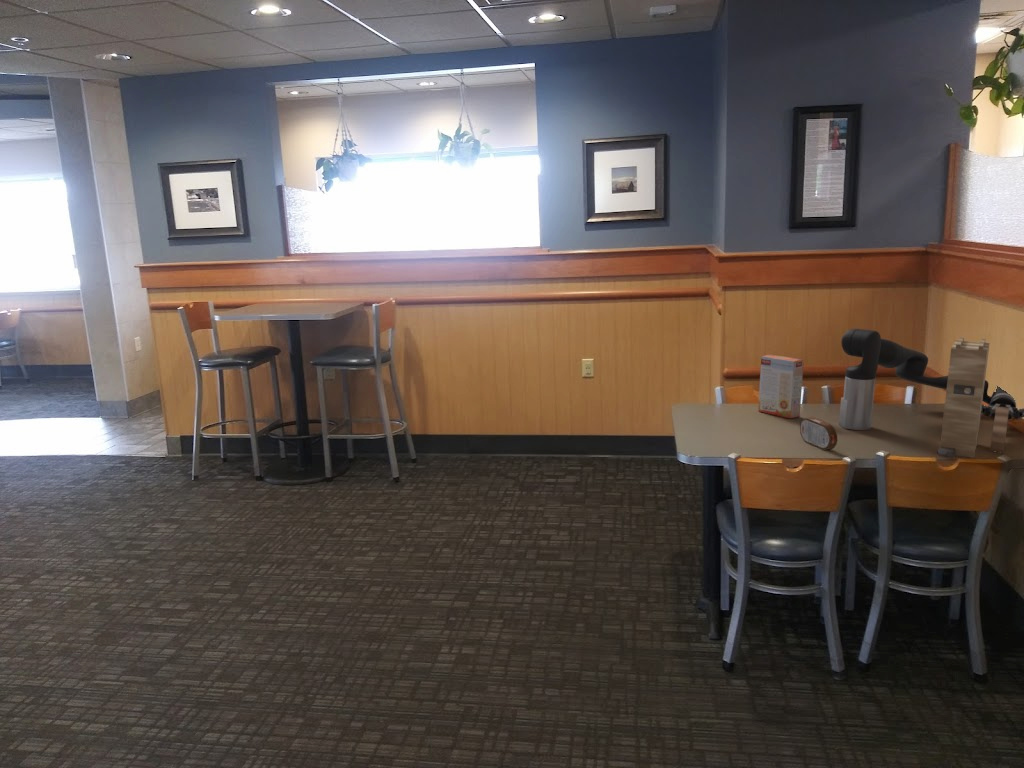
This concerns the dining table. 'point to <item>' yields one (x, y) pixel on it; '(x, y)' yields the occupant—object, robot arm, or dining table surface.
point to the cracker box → (780, 386)
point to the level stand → (964, 398)
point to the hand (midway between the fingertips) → (1001, 416)
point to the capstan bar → (999, 429)
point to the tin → (818, 433)
